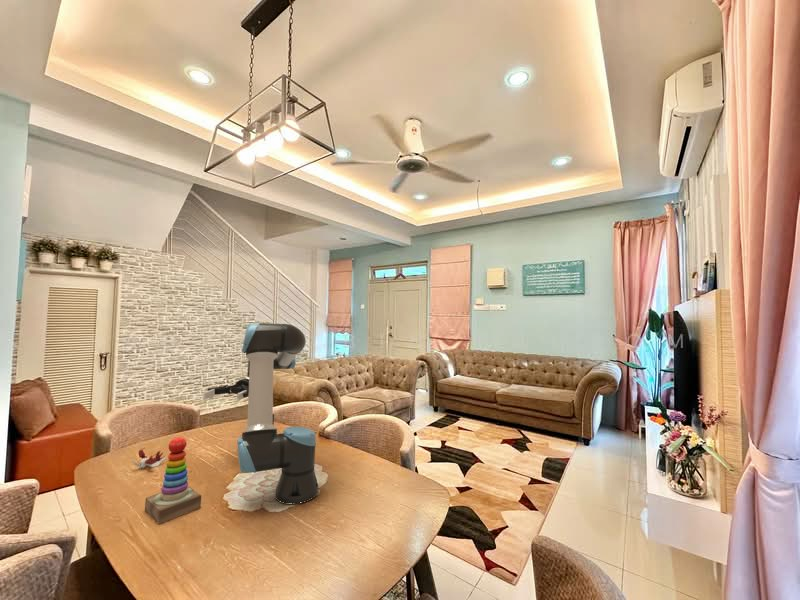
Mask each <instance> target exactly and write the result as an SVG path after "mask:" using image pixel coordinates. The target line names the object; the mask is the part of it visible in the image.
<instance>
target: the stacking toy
mask: <svg viewBox="0 0 800 600" xmlns="http://www.w3.org/2000/svg"><path fill="white" fill-rule="evenodd" d="M186 447H187V440H186V439H185V438H184V437H182V436H177V437H175V438H173V439H171V440H170V442H169V443H168V450H169V452H170V453H169V454H168V456H167V461H166V463H165V464H166V467H165V469H164V471H165V473H164V475H163V478H164V479H163V481H162V486H161V488H160V490H161V492H160V493H161V494H160V497H161V499H163V500H175V499H179V498H181V497H183V496H185V495H186V494H187V493H188V491H189V488H188V486H189V482H188V480H189V479H188V478H189V476H188V469H187V467H188V465H187V463H186V461H187V459H186V454H187V452H186V451H185V448H186Z"/></svg>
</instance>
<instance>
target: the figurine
mask: <svg viewBox="0 0 800 600" xmlns="http://www.w3.org/2000/svg"><path fill="white" fill-rule="evenodd" d="M145 449H146V448H145V447H142V448H141V449H140V450H138V456H139V457H138V458H141V460H140V462H139V463H137V462H136V461H132V463H133V464H134V465H135V467H136V468H139V469H141V468H142V469H144V468H145V467H146V466H148V467H150V468H157V467H156V466H158V467H159V466H160V465H161V463H162V462H163V461H164V460H165V459H167V456H166V455H164V456H162V455H163V453H164V452H161V450H158V451H157V453H156V454H153V455H150V456H149V457H148V456H147V455H146V453H144V452H145V451H144V450H145ZM154 456H155V457H154Z"/></svg>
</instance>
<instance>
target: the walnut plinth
mask: <svg viewBox="0 0 800 600" xmlns="http://www.w3.org/2000/svg"><path fill="white" fill-rule="evenodd" d="M188 488H189V491H188V493H187V494H186V495H185V496H183V497H181V498H179V499H175V500H163V499H161V497H160V494H161V492H160V493H156V494H154V495H150V496H147V497H145V502H144V511H145V512H146V514H148V515H149V516H150V517H151V518H152V519H153V520H154V521H155V520H156V521H157V522H158V523H159V524H158V523H157V522H156V521H155V522H156V523H157V524H158V525H161V524H163V523H162V522H164V523H166V522H169V521H171V520H174V519H177V518H179V517H181V516H184V515H186V514H189V513H191V512H193V510H194V511H196V510H198V508H199V509H201V508H202V507H201V505H202V495H201V494H200V493H198V491H196V490H194V489H193V488H191V487H190V486H189V485H188ZM188 512H189V513H188ZM168 520H169V521H168ZM165 521H166V522H165Z"/></svg>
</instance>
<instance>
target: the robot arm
mask: <svg viewBox="0 0 800 600" xmlns="http://www.w3.org/2000/svg"><path fill="white" fill-rule="evenodd" d="M245 329H246V330H245V334H244V339H243V344H242V351H241V352H242V353H244V354H245V358H246V359H247V374H246V375H247V377H244V378H241V379H239V380H238V381H236V382H235V384H232V385H228V384H226V385H221V386H216V387H215V386H214V387H210V388H209V387H208V388H207V391H204V392H203V400H208V399H209V398H213V397H215V396H216V395H224V394H228V395H232V394H234V395H237V396H236V401H241V400H243V399H246V398H248V400H247V420H246V423H247V424H246V428H245V429H244V430H243V431H242V433H241V437H240V436H239V438H237V456H238V467H239V471H240V472H241V473H242V474H250V473H255V474H256V473H259V472H266V471H271V470H272V471H273V470H279V469H281V474H280V477H279V480H278V482H277V486H276V488H275V492H274V497H276V498H277V499H278V500H279V501H281V502H284V503H292V504H291V505H294V504H293V503H300V502H304V501H307V500H309V499H311V498H313V497H314V496H315V495H316V494H317V493H318V494H319V483H318V480H317V475H316V473H315V460H316V445H317V439H316V433H315V431H314V430H313V429H310V428H309V427H304V426H289V427H285V428H284V429H283V432H282V433H278V428H277V427H276V426H275V425H273V414H274V412H273V410H274V404H273V403H274V370H291V369H292V370H293V369H295V368H296V367H295V366H296V356H297V355H298V354H299V353H301V352H302V351H303V349H305V346H306V343H307V342H306V336H305V334H304V332H303V331H302V330H301V329H300V328H299V327H297V326H295V325H292V324H289V323H267V322H266V323H262V322H258V323H249V324H248V325H247V326H246V328H245ZM318 494H317V495H318ZM276 498H275V499H276ZM313 499H314V498H313ZM279 501H278V502H279ZM281 502H280V503H281ZM307 502H308V501H307ZM284 503H283V504H284ZM300 504H301V503H300Z"/></svg>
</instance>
